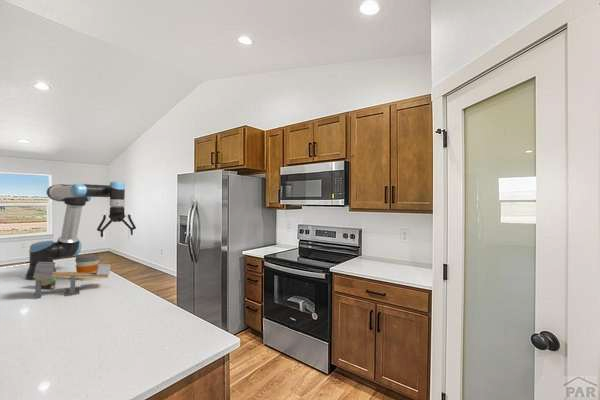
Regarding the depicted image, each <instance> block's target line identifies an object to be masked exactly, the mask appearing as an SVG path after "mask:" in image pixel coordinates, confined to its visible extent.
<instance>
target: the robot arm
mask: <svg viewBox="0 0 600 400" xmlns="http://www.w3.org/2000/svg"><path fill="white" fill-rule="evenodd" d="M125 193H126V187H125V182H123V181H110V182H109V184H89V183H88V184H86V183H73V184H65V183H64V184H63V183H62V184H61V183H59V184H53V185H51V186H49V187H48V188H47V189H46V195H47V197H48V198H49V199H50V200H52V201H55V202H61V203H62V202H63V204H65V206H66V207H65V212H64V217H63V225H62V230H61V235H60V236H59V237H58V238H57V241H54V240H44V241H43V240H42V241H38V242H34V243H32V244H31V245H30V246H29V251H28V253H29V260H28V261H29V264H28V265H29V267H28V269H27V271H26V274H25V280H36V278H33V276H34V272H35V268H36V264H37V263H38V262H54V260H57V259H58V260H59V259H64V258H71V257H77V256H78V255H79V254H80V253H81V250H82V241H81V240H80V239H79V237H78V232H79V226H80V221H81V215H82V212H83V211H82V210H83V207H84V206H86V203H89V202H91V201H90V200H92V199H91V198H109V206H110V207H109V213H108V214H109V215H108V214H107V215H106V214H104V215H102V220H101V221H100V223H99V225H98V227H97V228H96V231H97V232H99V233H100V238H102V243H103V244H104V243H106V241H105V237H106V236H105V235H106V232H105V230H106V229H107V228H108V227H109V226H110V224H112V222H113V223H120V222H122V223H123V224H124V225H125V226H126V227H127V228H128V241H130V242H131V239H132V238H131V236H133V233H134V232H133V231H134V230H136V229H137V227H136V225H135V222H134V221H133V219H132V218H131V214H130V213H129V214H125V195H126V194H125ZM108 218H109V219H110V220H108V222H107V223H106V224H105V225H104V223H105V221H106V219H108ZM125 218H127V219H128V221H129V223H130V224H129V223H128V222H127V221H126V220H125ZM103 225H104V226H103ZM130 225H131V226H130ZM54 270H57V269H56V267H55V266H54Z"/></svg>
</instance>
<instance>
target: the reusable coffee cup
mask: <svg viewBox="0 0 600 400" xmlns="http://www.w3.org/2000/svg"><path fill="white" fill-rule="evenodd" d="M99 260H100V254H98V253H97V254H96V253H92V254H91V253H89V254H81V255H76V256H75V263H76V265H75V271H76V272H83V273H96V271H97V267H98V264H100V261H99ZM90 280H95V278H78V281H90Z"/></svg>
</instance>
